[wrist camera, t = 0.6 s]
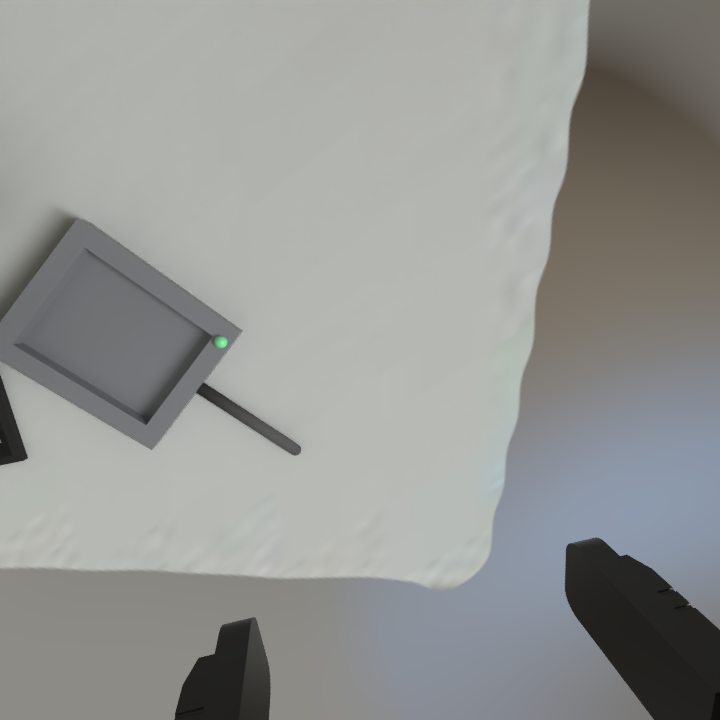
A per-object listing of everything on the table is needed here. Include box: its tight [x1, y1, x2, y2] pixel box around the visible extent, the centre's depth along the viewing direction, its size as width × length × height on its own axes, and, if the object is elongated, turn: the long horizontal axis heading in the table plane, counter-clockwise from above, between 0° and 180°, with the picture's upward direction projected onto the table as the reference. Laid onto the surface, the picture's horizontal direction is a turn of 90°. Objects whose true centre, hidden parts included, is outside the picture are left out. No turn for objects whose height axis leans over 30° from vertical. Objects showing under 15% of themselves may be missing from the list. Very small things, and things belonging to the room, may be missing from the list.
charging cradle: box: [0, 218, 301, 455], centre depth 32 cm, size 24×12×3 cm, turn 52°
